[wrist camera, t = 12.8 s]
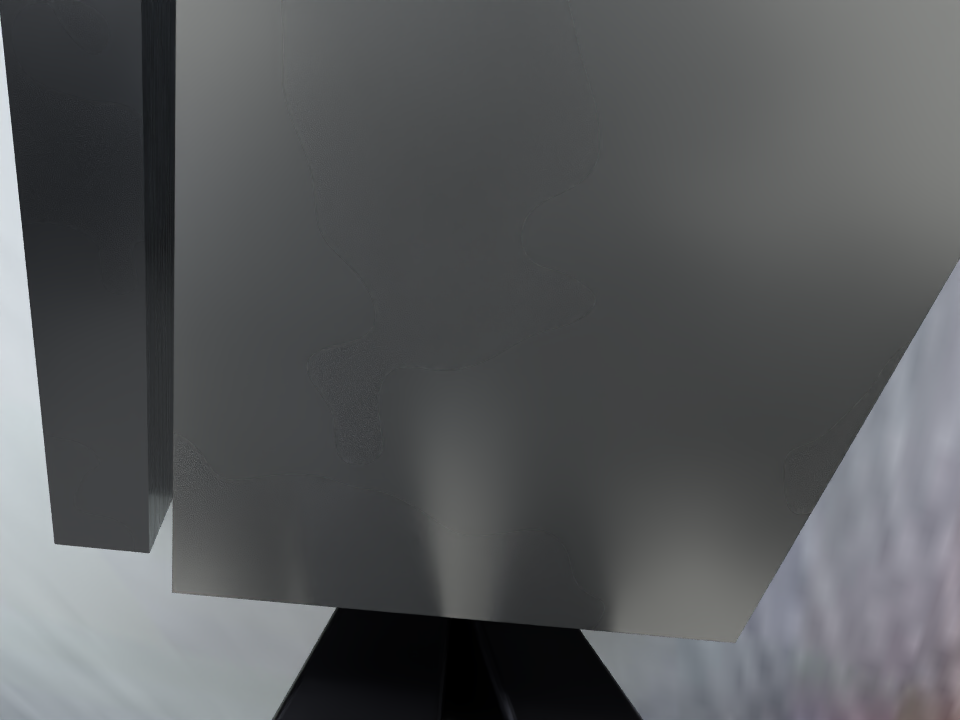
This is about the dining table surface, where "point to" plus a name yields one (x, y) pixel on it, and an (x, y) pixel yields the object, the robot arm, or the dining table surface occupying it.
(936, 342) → the dining table surface
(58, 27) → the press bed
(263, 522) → the ram
